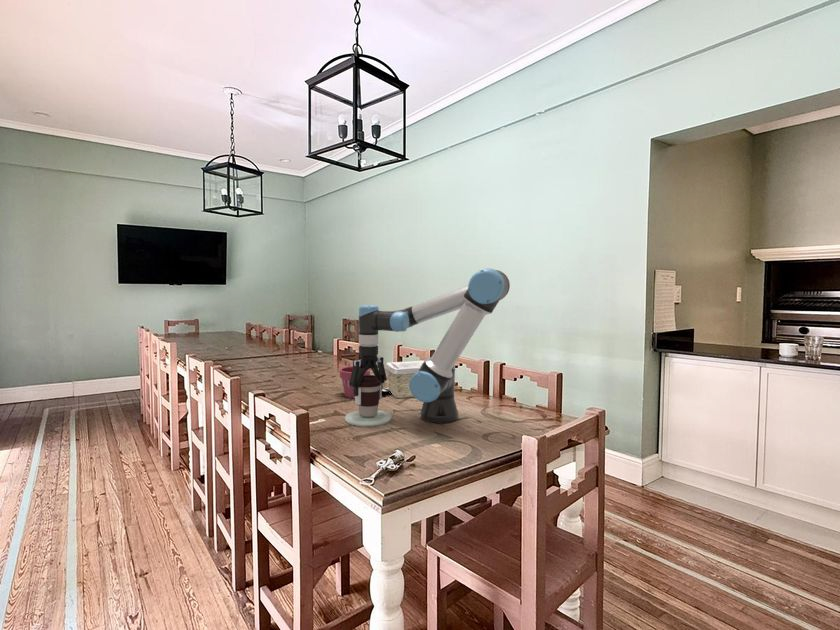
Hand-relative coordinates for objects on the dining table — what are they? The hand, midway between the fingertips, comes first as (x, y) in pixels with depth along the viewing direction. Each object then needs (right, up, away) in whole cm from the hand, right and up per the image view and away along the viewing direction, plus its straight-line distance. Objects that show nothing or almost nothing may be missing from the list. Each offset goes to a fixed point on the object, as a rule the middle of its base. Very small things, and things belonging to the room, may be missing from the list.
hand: (368, 401), depth 174 cm
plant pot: (-11, -5, +36) cm, 38 cm away
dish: (0, -7, +1) cm, 7 cm away
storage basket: (+17, -5, +42) cm, 45 cm away
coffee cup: (0, -5, 0) cm, 5 cm away
